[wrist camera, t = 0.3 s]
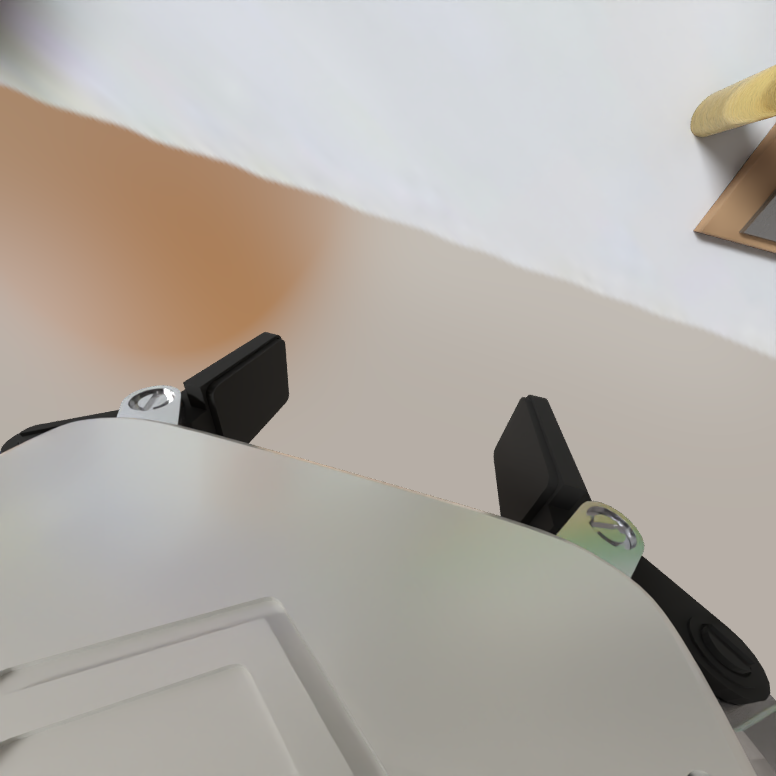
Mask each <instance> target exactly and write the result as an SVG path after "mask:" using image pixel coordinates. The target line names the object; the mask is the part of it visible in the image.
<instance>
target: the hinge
mask: <svg viewBox="0 0 776 776" xmlns="http://www.w3.org/2000/svg"><path fill="white" fill-rule="evenodd" d="M740 233H743V234H747V235H751V236H754V237H758V238H762V239H765V240H769V241H773V242H776V189H775V190H774V191H773V193H772V194H771V195H770V196H769V197H768V199H767V200H766V201H765V202H764V203H763V204H762V206H761V207H760V208H759V209H758V210H757V211H756V213H755V214H754V215H753V216H752V217H751V219H750V220H749V221H748V222H747V223H746V224H745V226H744V227H743V228H742V229H741V230H740Z"/></svg>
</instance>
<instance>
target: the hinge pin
mask: <svg viewBox="0 0 776 776" xmlns="http://www.w3.org/2000/svg"><path fill="white" fill-rule="evenodd" d="M774 116H776V65H774V66H772V67H770V68H768V69H766V70H763V71H761V72H759V73H757V74H755V75H752V76H750V77H748V78H746V79H744V80H742V81H739V82H737V83H735V84H733V85H731V86H728V87H726V88H724V89H722V90H720V91H718V92H715V93H713V94H712V95H710V96H708V97H707V98H706V99H705V100H704V101H703V102H702V103H701V104H700V105H699V106H698V107H697V109H696V110H695V112H694V114H693V116H692V119H691V131H692V133H693V134H694V135H696V136H698V137H706V136H710V135H713V134H716V133H720V132H723V131H727V130H730V129H733V128H737V127H740V126H744V125H747V124H750V123H754V122H757V121H761V120H764V119H767V118H771V117H774Z"/></svg>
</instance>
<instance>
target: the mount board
mask: <svg viewBox="0 0 776 776" xmlns="http://www.w3.org/2000/svg"><path fill="white" fill-rule="evenodd" d="M775 189H776V123H775V125H774V126H773V127H772V129H771V130H770V131H769V133H768V134H767V135H766V137H765V138H764V139H763V140H762V142H761V143H760V144H759V146H758V147H757V148H756V150H755V151H754V152H753V154H752V155H751V156H750V158H749V159H748V160H747V161H746V163H745V164H744V165H743V167H742V168H741V169H740V171H739V172H738V173H737V175H736V176H735V177H734V178H733V180H732V181H731V182H730V184H729V185H728V186H727V188H726V189H725V190H724V192H723V193H722V194H721V196H720V197H719V198H718V199H717V201H716V202H715V203H714V205H713V206H712V207H711V209H710V210H709V211H708V213H707V214H706V215H705V216H704V218H703V219H702V220H701V222H700V223H699V224H698V226H697V227H696V228H695V230H694V231H695V232H699V233H703V234H706V235H710V236H714V237H717V238H721V239H725V240H728V241H732V242H736V243H739V244H743V245H747V246H750V247H754V248H758V249H761V250H765V251H769V252H772V253H776V242H773V241H769V240H765V239H762V238H758V237H754V236H751V235H747V234H743V233H740V230H741V229H742V228H743V227H744V226H745V224H746V223H747V222H748V221H749V220H750V219H751V217H752V216H753V215H754V214H755V213H756V211H757V210H758V209H759V208H760V207H761V206H762V204H763V203H764V202H765V201H766V200H767V199H768V197H769V196H770V195H771V194H772V193H773V191H774V190H775Z"/></svg>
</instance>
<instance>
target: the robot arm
mask: <svg viewBox="0 0 776 776" xmlns="http://www.w3.org/2000/svg"><path fill="white" fill-rule="evenodd" d="M183 384H184V387H185V390H184V391H182V392H180V391H179V390H178V389H177V388H174V387H172V386H153V387H148V388H144V389H141V390H138V391H136V392H134V393H132V394H130V395H129V396H128V397H126V398H125V399H124V400H123V402H122V403H121V407H120V409H119V410H116V411H110V412H105V413H100V414H94V415H89V416H83V417H78V418H73V419H68V420H62V421H56V422H51V423H46V424H39V425H35V426H32V427H29V428H27V429H25V430H24V431H22V432H20V433H19V434H17V435H15V436H14V437H12V438H11V439H10V440H8V441H7V442H6V443H5V444H4V445H3V447H2V448H1V451H0V776H776V700H775V699H774V698H773V697H772V696H771V695H770V685H769V681H768V679H767V676H766V674H765V672H764V669H763V668H762V666H761V664H760V663H759V661H758V660H757V658H756V657H755V655H754V654H753V653H752V652H751V650H750V649H749V648H748V647H747V646H746V645H745V643H744V642H743V641H742V640H741V639H740V638H739V637H738V636H737V635H736V634H735V633H734V632H732V631H731V630H730V629H729V628H728V627H727V626H726V625H725V624H723V623H722V622H721V621H720V620H719V619H717V618H716V617H715V616H714V615H713V614H711V613H710V612H709V611H708V610H707V609H705V608H704V607H703V606H702V605H701V604H699V603H698V602H697V601H696V600H695V599H693V598H692V597H691V596H690V595H688V594H687V593H686V592H685V591H684V590H683V589H681V588H680V587H679V586H678V585H677V584H675V583H674V582H673V581H672V580H671V579H669V578H668V577H667V576H666V575H665V574H663V573H662V572H661V571H660V570H658V569H657V568H656V567H655V566H654V565H652V564H651V563H650V562H649V561H648V560H647V559H645V558H644V557H643V556H642V554H643V551H644V542H643V539H642V536H641V535H640V533H639V531H638V530H637V528H636V527H635V526H634V525H633V524H632V523H631V521H630V520H628V519H627V518H626V517H625V516H624V515H623V514H621V513H620V512H619V511H617V510H616V509H614V508H612V507H611V506H608V505H606V504H604V503H601V502H596V501H591V498H590V496H589V494H588V492H587V489H586V487H585V484H584V482H583V480H582V478H581V475H580V473H579V471H578V469H577V466H576V464H575V462H574V460H573V457H572V455H571V453H570V450H569V448H568V446H567V443H566V441H565V439H564V437H563V434H562V432H561V430H560V427H559V425H558V423H557V421H556V418H555V416H554V414H553V412H552V409H551V407H550V405H549V402H548V400H547V399H545V398H542V397H537V396H533V395H528V396H527V397H526V398H525V397H522V398H521V399H520V401H519V403H518V405H517V407H516V409H515V411H514V413H513V414H512V416H511V418H510V420H509V422H508V424H507V426H506V428H505V430H504V432H503V434H502V436H501V438H500V440H499V442H498V444H497V446H496V448H495V450H494V464H495V472H496V480H497V489H498V497H499V505H500V512H501V516H498V515H495V514H491V513H488V512H484V511H481V510H478V509H475V508H471V507H468V506H465V505H461V504H458V503H455V502H451V501H448V500H444V499H441V498H437V497H434V496H431V495H427V494H423V493H420V492H417V491H413V490H410V489H407V488H403V487H399V486H396V485H393V484H389V483H386V482H382V481H378V480H375V479H372V478H368V477H365V476H361V475H358V474H354V473H351V472H347V471H344V470H340V469H336V468H333V467H330V466H326V465H323V464H319V463H316V462H312V461H309V460H305V459H302V458H298V457H295V456H291V455H287V454H284V453H280V452H277V451H273V450H269V449H266V448H262V447H259V446H255V445H252V444H249V443H250V441H251V440H252V439H253V438H254V437H255V436H256V435H257V434H258V433H259V432H260V430H261V429H262V428H263V427H264V426H265V425H266V424H267V423H268V422H269V421H270V420H271V418H272V417H273V416H274V415H275V414H276V413H277V412H278V411H279V409H280V408H281V407H282V406H283V405H284V404H285V403H286V402H287V400H288V397H289V388H288V375H287V362H286V349H285V342H284V340H282V339H281V337H280V336H279V335H275V334H271V333H267V332H264V333H262V334H261V335H259V336H257V337H256V338H254V339H252V340H251V341H249V342H248V343H246V344H244V345H243V346H241V347H239V348H238V349H236V350H235V351H233V352H231V353H230V354H228V355H227V356H225V357H223V358H222V359H220V360H219V361H217V362H215V363H214V364H212V365H211V366H209V367H207V368H206V369H204V370H202V371H201V372H199V373H198V374H196V375H194V376H193V377H191V378H190V379H188V380H186V381H185V382H184V383H183Z"/></svg>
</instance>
